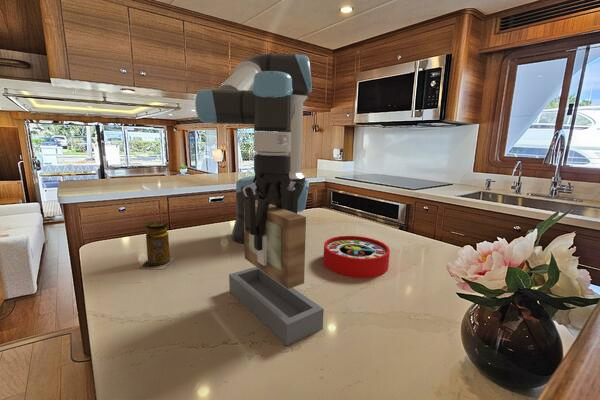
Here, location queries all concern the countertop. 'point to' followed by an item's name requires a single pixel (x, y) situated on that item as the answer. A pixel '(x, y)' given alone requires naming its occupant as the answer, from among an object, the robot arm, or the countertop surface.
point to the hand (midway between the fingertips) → (271, 260)
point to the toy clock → (356, 256)
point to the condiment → (157, 246)
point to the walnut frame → (281, 246)
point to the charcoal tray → (277, 305)
